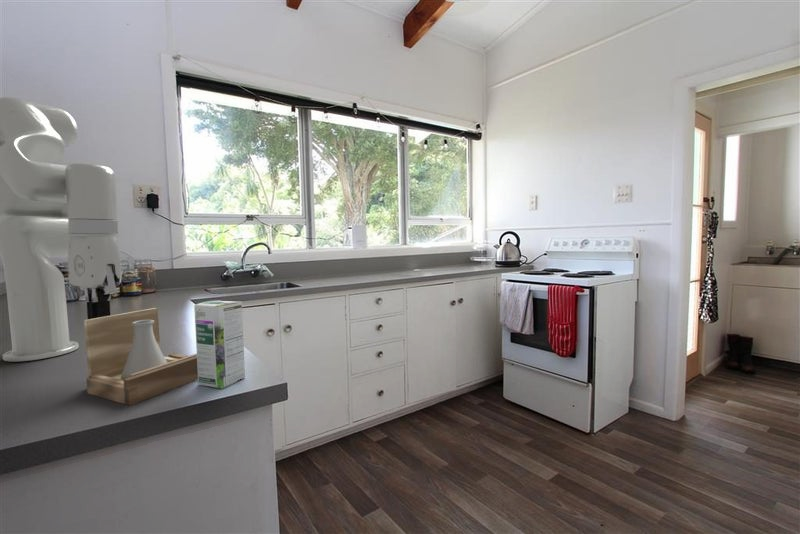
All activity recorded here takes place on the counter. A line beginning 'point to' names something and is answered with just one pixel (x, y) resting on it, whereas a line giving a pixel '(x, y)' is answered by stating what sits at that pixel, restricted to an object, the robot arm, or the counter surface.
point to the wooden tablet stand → (117, 343)
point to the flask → (143, 349)
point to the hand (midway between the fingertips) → (99, 320)
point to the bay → (146, 382)
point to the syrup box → (219, 343)
